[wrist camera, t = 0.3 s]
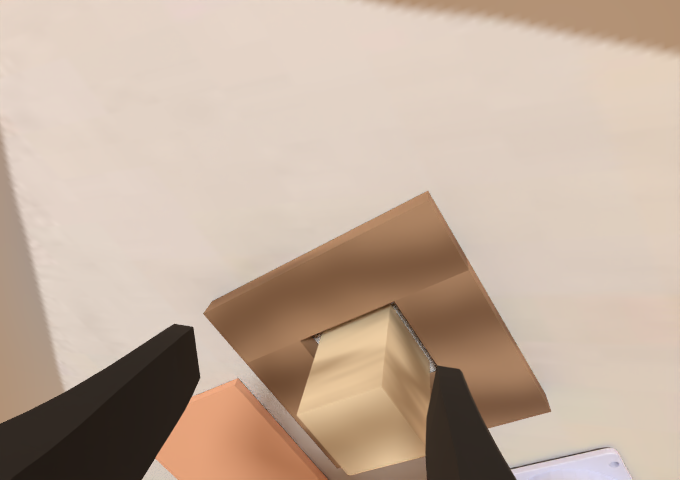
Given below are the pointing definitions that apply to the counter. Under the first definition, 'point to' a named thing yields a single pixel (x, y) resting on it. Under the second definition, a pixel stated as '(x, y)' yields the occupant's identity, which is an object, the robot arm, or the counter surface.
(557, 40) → the counter surface
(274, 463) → the tile
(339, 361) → the birch block
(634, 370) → the counter surface
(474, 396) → the pocket plate
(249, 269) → the counter surface
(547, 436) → the counter surface
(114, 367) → the robot arm
